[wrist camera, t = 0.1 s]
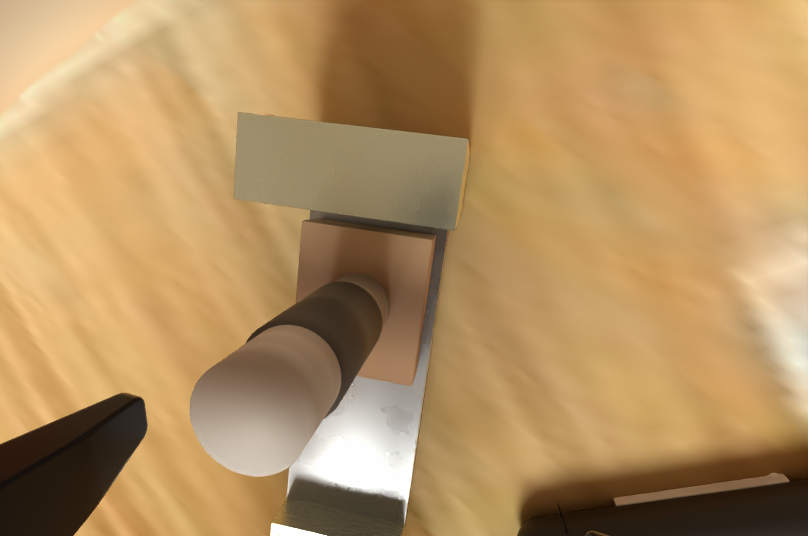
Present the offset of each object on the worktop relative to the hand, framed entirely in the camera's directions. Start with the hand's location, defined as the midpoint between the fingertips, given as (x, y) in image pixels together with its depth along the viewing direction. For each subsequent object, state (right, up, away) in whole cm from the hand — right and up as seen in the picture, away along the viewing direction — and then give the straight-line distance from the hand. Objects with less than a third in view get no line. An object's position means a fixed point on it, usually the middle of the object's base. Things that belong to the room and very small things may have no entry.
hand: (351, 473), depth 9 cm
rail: (-1, -1, +16) cm, 16 cm away
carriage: (-1, +3, +14) cm, 14 cm away
